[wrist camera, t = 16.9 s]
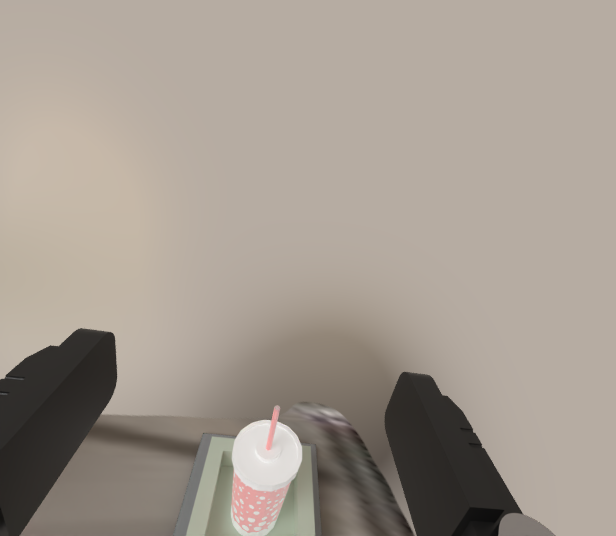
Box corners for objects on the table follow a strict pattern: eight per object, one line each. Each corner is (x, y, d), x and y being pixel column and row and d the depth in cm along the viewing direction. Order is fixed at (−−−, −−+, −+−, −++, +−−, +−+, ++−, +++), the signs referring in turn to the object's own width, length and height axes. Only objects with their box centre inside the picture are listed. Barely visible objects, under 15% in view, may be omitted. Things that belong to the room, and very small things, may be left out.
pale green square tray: (158, 589, 26) (158, 561, 25) (202, 437, 39) (205, 412, 37) (323, 596, 28) (334, 570, 26) (314, 448, 41) (321, 424, 39)
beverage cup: (251, 467, 35) (270, 369, 30) (297, 505, 33) (327, 405, 27) (208, 517, 30) (222, 410, 24) (259, 566, 28) (286, 458, 22)
